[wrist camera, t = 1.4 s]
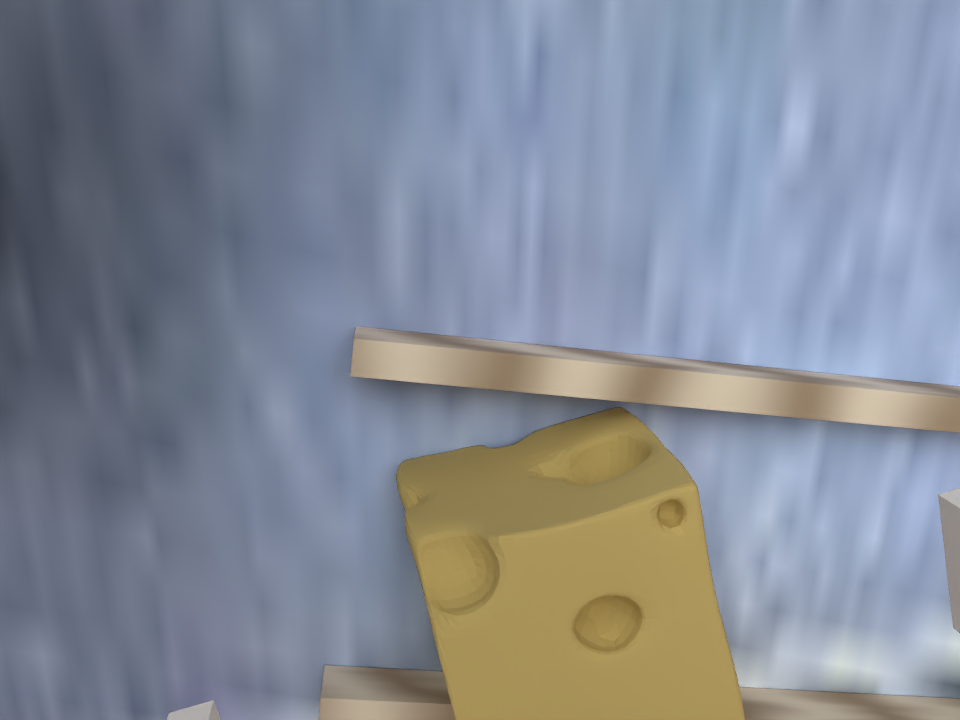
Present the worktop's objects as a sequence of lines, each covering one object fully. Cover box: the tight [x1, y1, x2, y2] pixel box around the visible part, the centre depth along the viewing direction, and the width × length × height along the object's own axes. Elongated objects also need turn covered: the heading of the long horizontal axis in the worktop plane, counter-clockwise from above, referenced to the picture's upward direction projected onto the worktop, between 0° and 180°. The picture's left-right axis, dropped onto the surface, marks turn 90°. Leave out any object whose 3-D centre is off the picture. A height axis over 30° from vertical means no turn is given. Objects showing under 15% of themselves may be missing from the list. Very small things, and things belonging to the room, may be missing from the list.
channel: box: [319, 327, 960, 720], centre depth 38 cm, size 36×17×6 cm, turn 83°
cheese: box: [396, 407, 745, 720], centre depth 35 cm, size 10×11×10 cm
